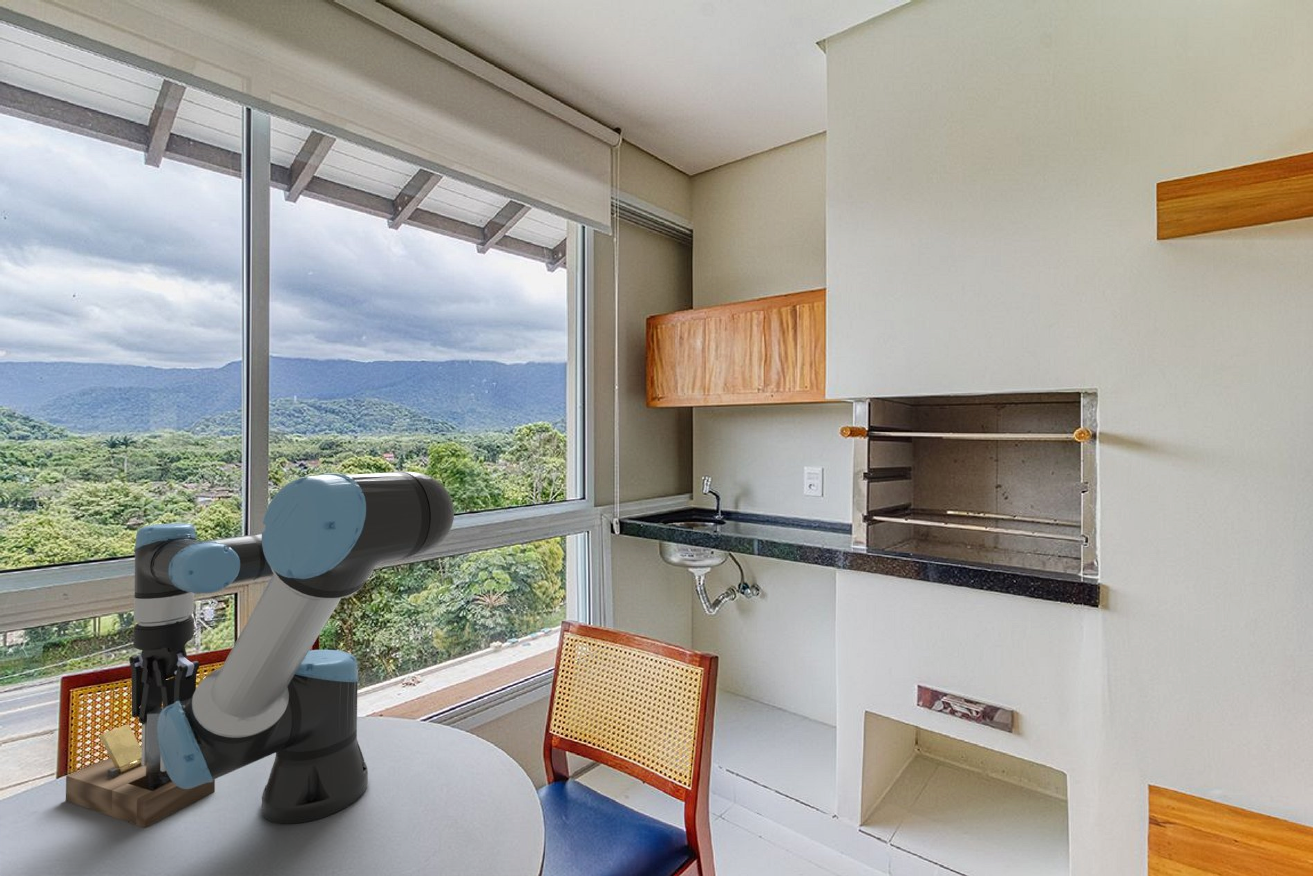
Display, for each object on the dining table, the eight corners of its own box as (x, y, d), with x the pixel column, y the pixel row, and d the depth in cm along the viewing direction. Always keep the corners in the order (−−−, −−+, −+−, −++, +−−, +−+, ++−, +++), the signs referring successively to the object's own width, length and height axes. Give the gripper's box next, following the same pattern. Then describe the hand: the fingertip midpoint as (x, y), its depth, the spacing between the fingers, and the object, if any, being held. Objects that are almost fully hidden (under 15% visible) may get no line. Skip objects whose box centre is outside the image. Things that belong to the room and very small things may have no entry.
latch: (144, 763, 98) (147, 760, 98) (118, 775, 95) (121, 771, 95) (125, 727, 100) (128, 724, 100) (99, 737, 97) (102, 733, 97)
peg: (183, 787, 95) (185, 707, 96) (155, 801, 92) (157, 718, 92) (167, 782, 97) (169, 704, 97) (139, 796, 93) (141, 714, 93)
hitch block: (214, 791, 97) (215, 760, 97) (144, 828, 88) (145, 793, 88) (138, 768, 104) (138, 739, 104) (65, 800, 94) (66, 768, 95)
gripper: (224, 618, 95) (222, 762, 95) (156, 608, 101) (154, 744, 101) (173, 631, 88) (170, 787, 88) (103, 620, 94) (100, 766, 94)
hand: (161, 764), depth 94 cm, fingers closed on peg, 4 cm apart
